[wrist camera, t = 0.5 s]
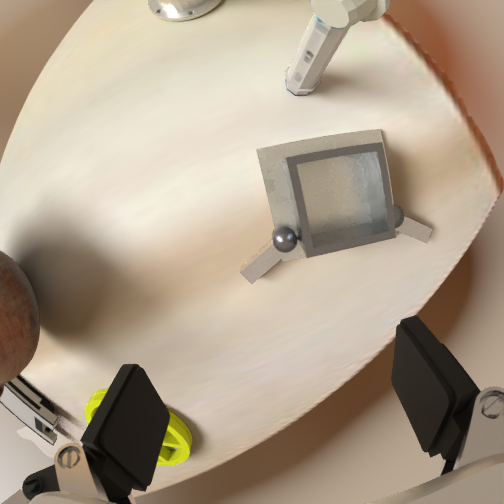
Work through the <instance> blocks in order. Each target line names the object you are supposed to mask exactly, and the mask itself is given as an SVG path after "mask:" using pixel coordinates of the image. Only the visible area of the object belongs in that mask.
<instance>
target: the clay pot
mask: <svg viewBox="0 0 504 504" xmlns="http://www.w3.org/2000/svg"><path fill="white" fill-rule="evenodd" d="M39 334H40V319H39V311H38V305H37V301H36V297H35V294H34V291H33V289H32V286H31V284H30V282H29V280H28V279H27V277H26V275H25V273H24V272H23V271H22V269H21V268H20V267H19V265H18V264H17V263H16V262H15V261H14V260H13V259H12V258H10V257H9V256H8V255H6V254H5V253H3V252H2V251H0V397H1V396H2V394H3V391H4V385H5V383H7V382H9V381H10V380H12V379H14V378H15V377H17V376H18V375H19V374H20V373H21V372H22V371H23V369H24V368H25V367H26V366H27V365H28V364H29V362H30V361H31V360H32V358H33V356H34V353H35V351H36V348H37V345H38V341H39Z"/></svg>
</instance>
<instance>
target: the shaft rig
mask: <svg viewBox="0 0 504 504" xmlns="http://www.w3.org/2000/svg"><path fill="white" fill-rule="evenodd" d="M257 154H258V159H259V163H260V167H261V171H262V175H263V179H264V184H265V188H266V192H267V196H268V201H269V205H270V209H271V214H272V218H273V223H274V227H275V229H274V231H273V234H272V237H273V239H272V240H271V241H269V242H268V243H267V244H266V245H265V246H264V247H263V248H262V249H260V250H259V251H258V252H257V253H256V254H255V255H254V256H253V257H251V258H250V259H249V260H248V261H247V262H246V263H245V264H244V265H242V266H241V270H240V273H241V274H242V275H243V276H244V277H245V278H246V279H247V280H248V281H249V282H250V283H251V284H253V283H254V282H255V281H256V280H258V279H259V278H260V277H261V276H262V275H263V274H265V273H266V272H267V271H268V270H269V269H270V268H272V267H273V266H274V265H275V264H276V263H277V262H278V261H280V260H281V259H282V262H285V261H290V260H294V259H299V258H303V257H307V258H309V257H313V256H318V255H322V254H327V253H331V252H336V251H340V250H344V249H349V248H353V247H358V246H362V245H366V244H371V243H375V242H379V241H383V240H388V239H392V238H396V236H397V231H399V232H402V233H404V234H406V235H409V236H411V237H413V238H416V239H418V240H420V241H423V242H425V243H427V242H428V240H429V237H430V234H431V231H432V229H431V228H429V227H427V226H425V225H423V224H421V223H419V222H416V221H414V220H412V219H410V218H408V217H405V216H404V212H403V210H402V209H401V208H400V207H398V206H395V205H394V202H393V195H392V188H391V181H390V175H389V169H388V163H387V158H386V153H385V148H384V143H383V138H382V134H381V129H377V130H368V131H359V132H351V133H344V134H337V135H330V136H324V137H318V138H312V139H306V140H301V141H295V142H290V143H285V144H280V145H275V146H271V147H266V148H261V149H257Z"/></svg>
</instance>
